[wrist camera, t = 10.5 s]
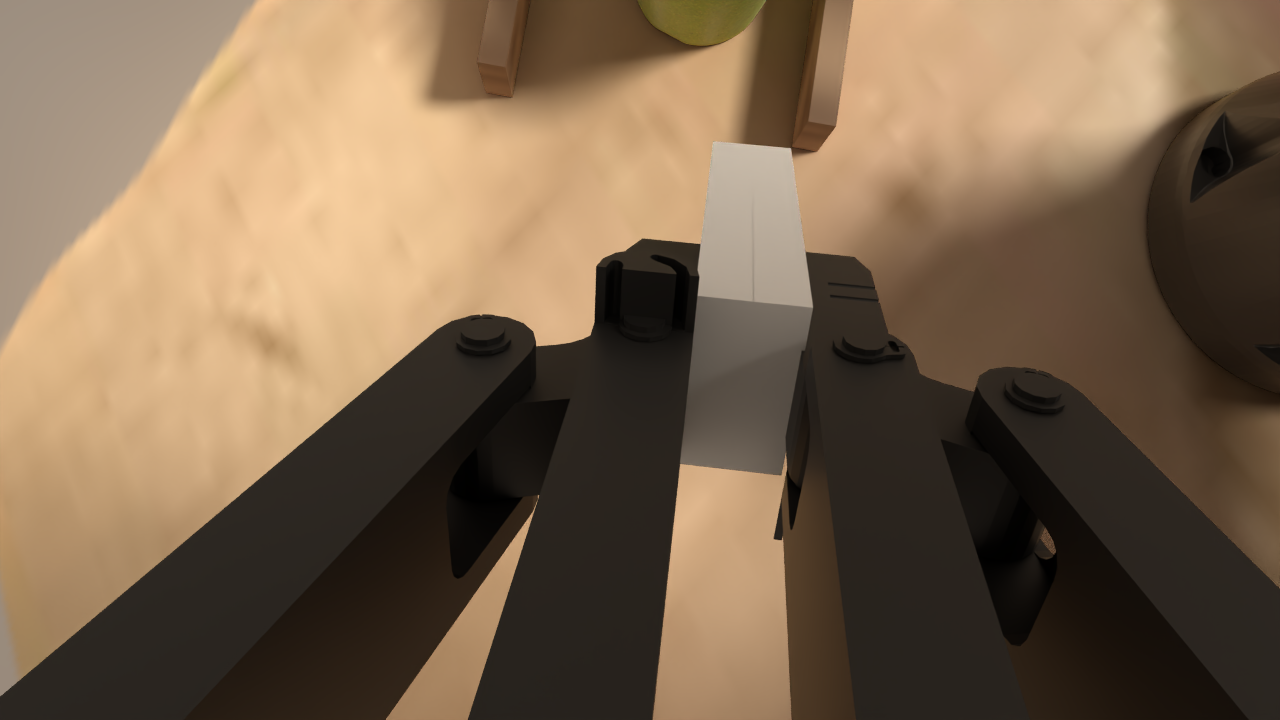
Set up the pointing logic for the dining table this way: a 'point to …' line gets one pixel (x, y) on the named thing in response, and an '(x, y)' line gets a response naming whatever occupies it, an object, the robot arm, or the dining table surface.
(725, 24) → the plant pot
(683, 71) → the dining table surface
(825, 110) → the walnut bay
